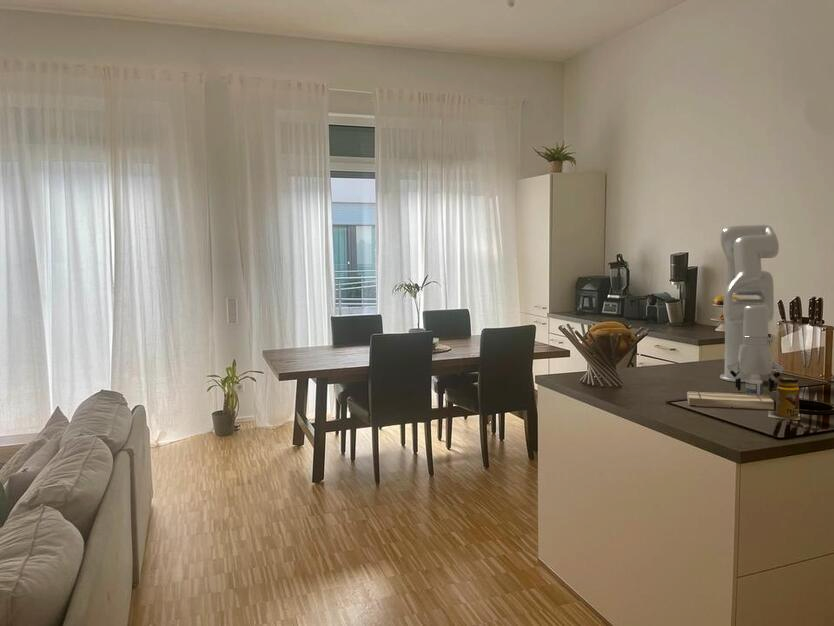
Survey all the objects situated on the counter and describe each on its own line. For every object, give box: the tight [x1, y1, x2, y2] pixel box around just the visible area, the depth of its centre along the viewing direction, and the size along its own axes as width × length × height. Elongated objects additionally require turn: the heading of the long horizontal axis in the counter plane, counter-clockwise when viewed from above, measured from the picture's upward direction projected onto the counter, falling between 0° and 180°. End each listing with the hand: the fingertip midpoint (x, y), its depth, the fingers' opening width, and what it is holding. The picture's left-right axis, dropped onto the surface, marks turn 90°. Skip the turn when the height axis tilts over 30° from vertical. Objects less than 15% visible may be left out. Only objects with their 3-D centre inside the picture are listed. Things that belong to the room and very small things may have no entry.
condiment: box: [767, 376, 801, 421], centre depth 194 cm, size 7×8×12 cm
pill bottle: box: [745, 374, 764, 395], centre depth 216 cm, size 5×5×9 cm
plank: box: [686, 391, 775, 411], centre depth 211 cm, size 10×25×3 cm, turn 70°
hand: (754, 390), depth 216 cm, fingers open, 9 cm apart
